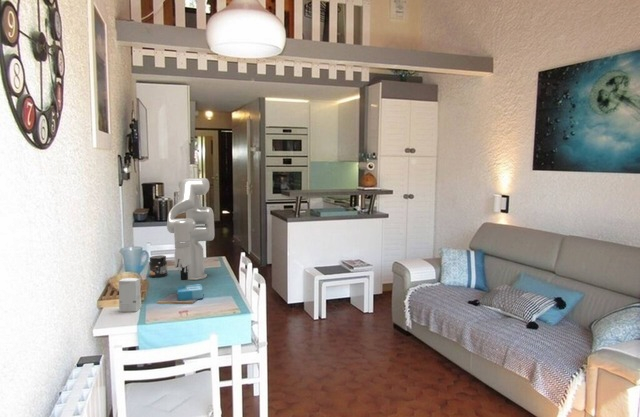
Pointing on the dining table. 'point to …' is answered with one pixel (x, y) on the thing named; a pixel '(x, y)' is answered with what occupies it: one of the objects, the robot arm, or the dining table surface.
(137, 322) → the dining table surface
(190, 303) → the oak strip
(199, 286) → the data package
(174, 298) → the rubber mat
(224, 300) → the dining table surface
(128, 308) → the skincare box
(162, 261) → the supplement container
